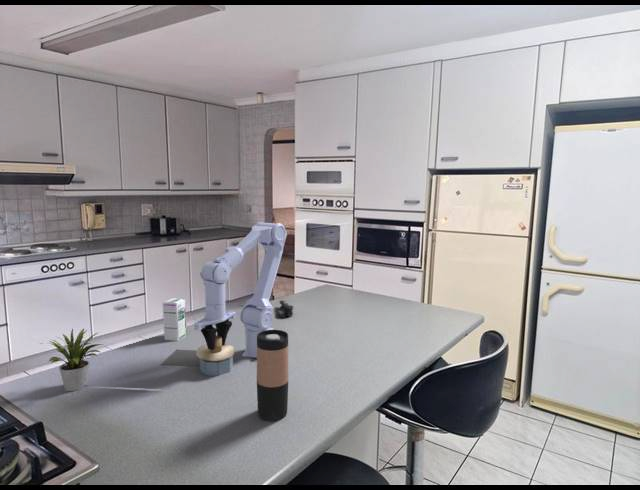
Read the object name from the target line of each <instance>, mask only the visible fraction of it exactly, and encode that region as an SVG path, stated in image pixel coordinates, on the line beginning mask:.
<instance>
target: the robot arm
mask: <svg viewBox="0 0 640 490" xmlns="http://www.w3.org/2000/svg"><path fill="white" fill-rule="evenodd" d="M287 236H288V233H287V231H286V227H285V226H284V225H283V224H282V223H279V222H278V223H274V222H273V223H271V222H263V221H258V222H257V223H255V225H253V226H252V227H251V231H250V232H249V233H247V235H246V236H245V237H243V238H242V240H240V242H239V243H238V244H236V246H227V247H226V248H224V249H225V250H224V251H223V252H222V253H221V254H219V255H218V257H217V256H216V257H214V259H213V261H208V262H207V263H205V264H204V265H203V266H202V268H201V272H199V274H200V275H199V276H200V278H201V279H202V281H203V286H204V292H205V293H204V296H205V301H204V302H205V315H204V317H203V318H201V319H200V320H198V321H196V322H194V324H193V325H194V326H193V327H194V328H193V329H194V330H195V331H200V332H201V334H202V336H203V338H204V339H205V342H206V344H207V347H208V349H210V350H214V349H215V336H216V335H219V336H221V337H222V346H224V345H225V344H226V341H227V337H228V334H229V331H230V329H231V327H232V325H233V321H231V319H232V320H233V319H235V318H237V317H236V316H237V315H236V314H237V312H236V311H233V310H230V311H229V310H228V311H226V282H228V280H229V277H230V275H231V273H232V271H233V270H235V268H236V267H237V266H238V265H240V264H241V262H242V261H244V255H245V254H247V253H248V252H249V251H250V250H252V249H254V247H256V246H257V245H258V244H260V246H261V247H262V248H263V249H264V250H265V255H264V259H263V261H262V266H261V268H260V272H259V275H258V278H257V282H256V286H255V288H254V291H253V296H252V297H250V298H249V299H248V300H246V302H245V304H244V307H243V308H242V309H241V310H240V313H239V320H240V322H241V323H242V324H243V327H244V328H245V329H244V330H245V331H244V332H245V333H244V335H245V338H244V339H245V340H244V341H245V343H244V344H245V350H244V352H243V353H242V354H241V356H242V357H250V358H256V359H257V334H258V333H260V332H262V331H266V330H275V328H274V327H271V324H272V321H273V311H274V307H273V305H272V303H270V302H271V301H270V298H271V295H272V291H273V289H274V288H273V287H274V284H275V280H276V278H277V277H276V276H277V274H278V270H279V266H280V263H281V260H282V255H283V253H284V248H285V243H286V239H287ZM214 326H215V327H214Z"/></svg>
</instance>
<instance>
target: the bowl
mask: <svg viewBox="0 0 640 490" xmlns="http://www.w3.org/2000/svg"><path fill="white" fill-rule="evenodd" d="M233 367H234V355H233V356H231V357H230V358H227V359H224V360H220V361H207V360H203V359H200V365H199V371H200V372H201V373H202V374H203V375H205V376H214V377H215V376H217V377H218V376H222V375H225V374H228V373H230V372H231V371H232V370H233Z"/></svg>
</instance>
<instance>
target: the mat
mask: <svg viewBox="0 0 640 490" xmlns="http://www.w3.org/2000/svg"><path fill="white" fill-rule="evenodd" d="M196 351H197V349H194V350H193V349H176V350H175V351H173V352H172V353H171V354H170V355H169V356H168V357H166V358H165V360H163V361H162V362H161V363H160V364H159V365H160V366H178V367H179V366H180V367H197V368H198V367H199V368H200V358H199V357H197V355H196Z"/></svg>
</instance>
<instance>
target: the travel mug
mask: <svg viewBox="0 0 640 490" xmlns="http://www.w3.org/2000/svg"><path fill="white" fill-rule="evenodd" d="M288 395H289V334H288V332H286V331H285V330H282V329H274V330H266V331H262V332H260V333H258V334H257V358H256V399H257V415H258V417H259V418H260V419H261V420H263V421H267V422H277V421H281V420H282V419H284V418H285V417H286V416H287V414H288V401H289V398H288V397H289V396H288Z"/></svg>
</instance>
